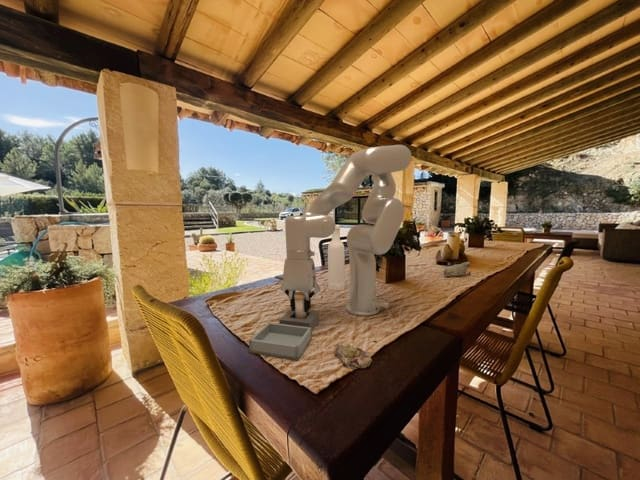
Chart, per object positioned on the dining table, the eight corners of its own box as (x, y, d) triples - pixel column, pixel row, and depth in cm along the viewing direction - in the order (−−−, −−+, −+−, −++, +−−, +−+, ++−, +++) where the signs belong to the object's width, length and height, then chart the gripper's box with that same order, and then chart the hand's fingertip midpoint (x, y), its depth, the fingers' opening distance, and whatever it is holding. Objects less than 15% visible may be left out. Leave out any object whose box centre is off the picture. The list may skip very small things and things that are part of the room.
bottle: (324, 289, 120) (323, 225, 116) (333, 284, 127) (332, 224, 123) (340, 292, 116) (339, 225, 112) (347, 287, 123) (347, 224, 119)
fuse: (309, 320, 86) (307, 291, 84) (305, 326, 82) (303, 296, 81) (297, 319, 87) (296, 291, 86) (293, 324, 83) (291, 295, 82)
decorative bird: (440, 276, 139) (441, 263, 138) (464, 273, 143) (465, 260, 142) (448, 279, 133) (448, 265, 132) (472, 276, 138) (473, 262, 137)
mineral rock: (380, 350, 65) (363, 355, 59) (378, 368, 65) (361, 375, 59) (345, 338, 72) (327, 341, 66) (343, 354, 72) (325, 359, 66)
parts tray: (312, 338, 75) (311, 327, 75) (298, 360, 65) (297, 347, 64) (268, 333, 79) (268, 322, 79) (249, 352, 69) (248, 340, 68)
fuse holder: (319, 320, 88) (319, 310, 87) (309, 334, 78) (309, 323, 78) (292, 317, 91) (291, 307, 90) (279, 330, 81) (279, 319, 81)
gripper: (327, 253, 83) (328, 307, 85) (279, 252, 87) (282, 303, 90) (320, 258, 75) (322, 317, 78) (269, 256, 80) (272, 312, 83)
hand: (300, 309), depth 84 cm, fingers closed on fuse, 3 cm apart
